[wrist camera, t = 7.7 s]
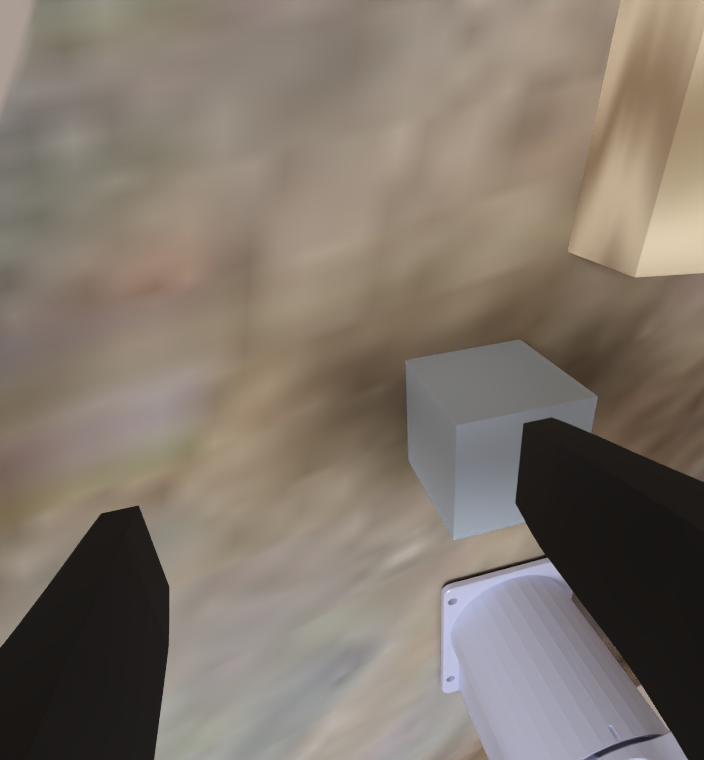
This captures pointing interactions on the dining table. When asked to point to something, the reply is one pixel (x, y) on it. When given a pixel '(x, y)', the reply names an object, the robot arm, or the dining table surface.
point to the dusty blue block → (483, 427)
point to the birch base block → (648, 146)
